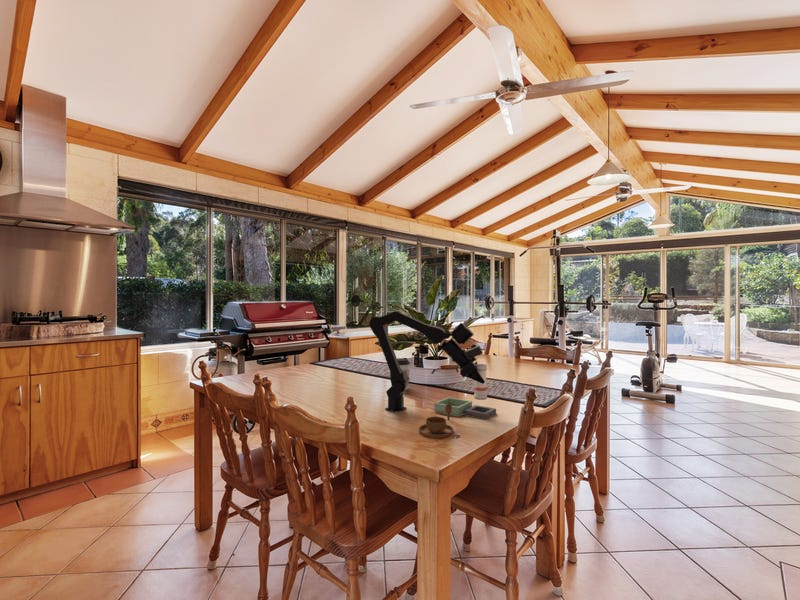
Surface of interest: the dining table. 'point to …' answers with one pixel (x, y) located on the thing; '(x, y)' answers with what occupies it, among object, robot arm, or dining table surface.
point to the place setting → (438, 426)
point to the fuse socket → (480, 412)
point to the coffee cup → (404, 365)
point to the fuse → (479, 387)
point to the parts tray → (457, 406)
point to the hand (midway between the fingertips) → (484, 381)
